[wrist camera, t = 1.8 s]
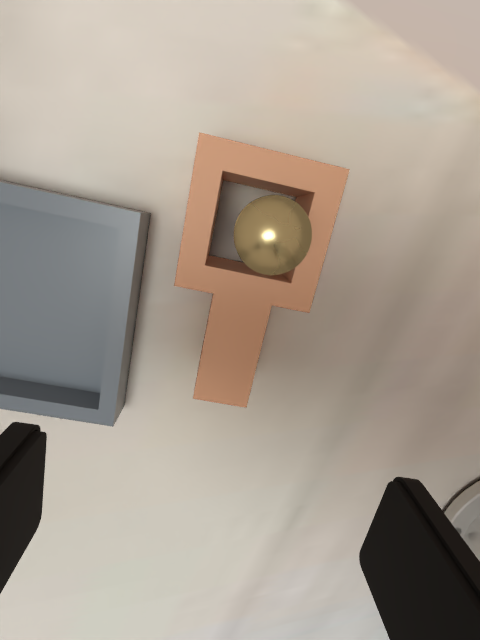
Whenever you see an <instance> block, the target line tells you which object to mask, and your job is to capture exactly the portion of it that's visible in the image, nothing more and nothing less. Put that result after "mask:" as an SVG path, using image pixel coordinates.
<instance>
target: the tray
mask: <svg viewBox="0 0 480 640" xmlns="http://www.w3.org/2000/svg"><path fill="white" fill-rule="evenodd" d="M150 214H151V213H148V212H143V211H139V210H134V209H130V208H125V207H121V206H116V205H112V204H107V203H102V202H98V201H93V200H89V199H84V198H80V197H75V196H71V195H66V194H62V193H57V192H53V191H48V190H43V189H39V188H34V187H30V186H25V185H21V184H16V183H12V182H7V181H3V180H0V409H6V410H12V411H18V412H25V413H31V414H37V415H44V416H50V417H56V418H62V419H69V420H75V421H81V422H88V423H94V424H100V425H107V426H114V424H115V422H116V420H117V418H118V416H119V414H120V413H121V411H122V409H123V407H124V404H125V396H126V389H127V382H128V375H129V367H130V360H131V353H132V345H133V338H134V331H135V324H136V316H137V309H138V302H139V294H140V287H141V280H142V273H143V265H144V258H145V251H146V243H147V236H148V229H149V222H150Z"/></svg>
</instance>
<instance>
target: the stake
mask: <svg viewBox="0 0 480 640" xmlns="http://www.w3.org/2000/svg"><path fill="white" fill-rule="evenodd" d="M311 240H312V228H311V223H310V220H309V218H308V215H307V214H306V212H305V211H304V209H303V208H302V207H301V206H300V205H299V204H298V203H297V202H295V201H294V200H292V199H290V198H288V197H285V196H280V195H268V196H264V197H261V198H258V199H256V200H254V201H253V202H251V203H249V204H248V205H247V206H246V207H245V208H244V209H243V210H242V211H241V213H240V214H239V216H238V218H237V220H236V223H235V227H234V243H235V247H236V250H237V252H238V254H239V256H240V258H241V259H242V261H243V262H244V263H245V264H246V265H247V266H248V267H249V268H251V269H252V270H254V271H256V272H258V273H261V274H264V275H279V274H283V273H286V272H288V271H290V270H292V269H294V268H295V267H296V266H298V265H299V264H300V263H301V262H302V260H303V259H304V258H305V256H306V255H307V253H308V251H309V248H310V245H311Z"/></svg>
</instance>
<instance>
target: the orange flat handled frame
mask: <svg viewBox="0 0 480 640" xmlns="http://www.w3.org/2000/svg"><path fill="white" fill-rule="evenodd" d="M349 170H350V169H346V168H341V167H337V166H333V165H329V164H325V163H321V162H317V161H313V160H309V159H305V158H301V157H297V156H293V155H289V154H285V153H281V152H277V151H273V150H268V149H264V148H260V147H256V146H252V145H248V144H244V143H240V142H236V141H232V140H228V139H224V138H220V137H216V136H212V135H208V134H204V133H199V138H198V144H197V150H196V156H195V162H194V168H193V174H192V180H191V186H190V192H189V198H188V204H187V211H186V217H185V223H184V229H183V235H182V241H181V247H180V253H179V259H178V265H177V271H176V277H175V283H174V286H178V287H183V288H188V289H193V290H198V291H203V292H208V293H213V296H212V301H211V306H210V311H209V316H208V322H207V327H206V332H205V337H204V342H203V347H202V352H201V357H200V362H199V367H198V373H197V379H196V384H195V390H194V396H193V399H199V400H205V401H211V402H216V403H222V404H228V405H234V406H240V407H247V403H248V399H249V395H250V391H251V387H252V383H253V379H254V375H255V371H256V367H257V363H258V359H259V354H260V350H261V346H262V342H263V338H264V334H265V330H266V326H267V322H268V318H269V314H270V310H271V306H277V307H282V308H287V309H292V310H297V311H302V312H307V313H309V312H310V308H311V305H312V301H313V298H314V294H315V291H316V287H317V283H318V280H319V276H320V273H321V269H322V266H323V262H324V259H325V255H326V251H327V248H328V244H329V241H330V237H331V234H332V230H333V227H334V223H335V219H336V216H337V212H338V209H339V205H340V202H341V198H342V195H343V191H344V187H345V184H346V180H347V177H348V173H349ZM223 180H226V181H230V182H234V183H239V184H243V185H247V186H251V187H256V188H260V189H264V190H268V191H273V192H277V193H281V194H285V195H290V196H294V197H296V200H295V202H297V203H298V204H299V205H300V206H301V207H302V208H303V209H304V211H305V212H306V214H307V215H308V218H309V220H310V223H311V228H312V240H311V245H310V248H309V251H308V253H307V255H306V256H305V258H304V259H303V260H302V262H301V263H300V264H299V265H298V266H296V267H295V268H294V269H292V270H290V271H288V272H286V273H283V274H279V275H264V274H261V273H258V272H256V271H254V270H252V269H251V268H249V267H248V266H247V265H246V264H245V263H244V262H239V261H234V260H229V259H225V258H220V257H215V256H211V255H209V252H210V247H211V241H212V236H213V231H214V226H215V220H216V215H217V210H218V204H219V199H220V194H221V188H222V183H223Z"/></svg>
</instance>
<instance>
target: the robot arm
mask: <svg viewBox="0 0 480 640" xmlns="http://www.w3.org/2000/svg"><path fill="white" fill-rule="evenodd" d="M46 438H47V436H46V433H45V432H40V426H39V425H34V424H27V423H20V422H13V423H12V424H11V425H10V426H9V427H8V428H7V429H6V430H5V431H4V432H3V433H2V434H1V435H0V593H1V592H2V590H3V588H4V586H5V585H6V583H7V581H8V579H9V578H10V576H11V574H12V572H13V571H14V569H15V567H16V565H17V564H18V562H19V560H20V558H21V557H22V555H23V553H24V551H25V550H26V548H27V546H28V544H29V543H30V541H31V539H32V537H33V535H34V534H35V532H36V530H37V528H38V525H39V523H40V519H41V515H42V501H43V485H44V470H45V454H46ZM359 558H360V565H361V568H362V571H363V573H364V576H365V578H366V581H367V583H368V586H369V588H370V591H371V593H372V596H373V598H374V601H375V603H376V606H377V608H378V611H379V613H380V616H381V618H382V621H383V623H384V626H385V629H386V631H387V634H388V636H389V639H390V640H480V481H478V482H476V483H475V484H473V485H472V486H470V487H469V488H467V489H466V490H464V491H463V492H462V493H461V494H460V495H459V496H458V497H457V498H456V499H455V500H454V501H453V502H452V503H451V504H450V506H449V507H448V508H447V509H446V511H445V512H444V513H443V511H442V510H441V508H440V507H439V506H438V504H437V503H436V502H435V500H434V499H433V498H432V496H431V495H430V494H429V492H428V491H427V490H426V488H425V487H424V486H423V484H422V483H421V482H420V481H419V480H417V479H410V478H403V477H396V478H395V479H394V480H393V481H391V482H389V483H388V485H387V487H386V490H385V492H384V494H383V497H382V499H381V502H380V504H379V507H378V509H377V511H376V514H375V516H374V519H373V521H372V523H371V526H370V528H369V531H368V533H367V536H366V538H365V540H364V543H363V545H362V548H361V550H360V556H359Z"/></svg>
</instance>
